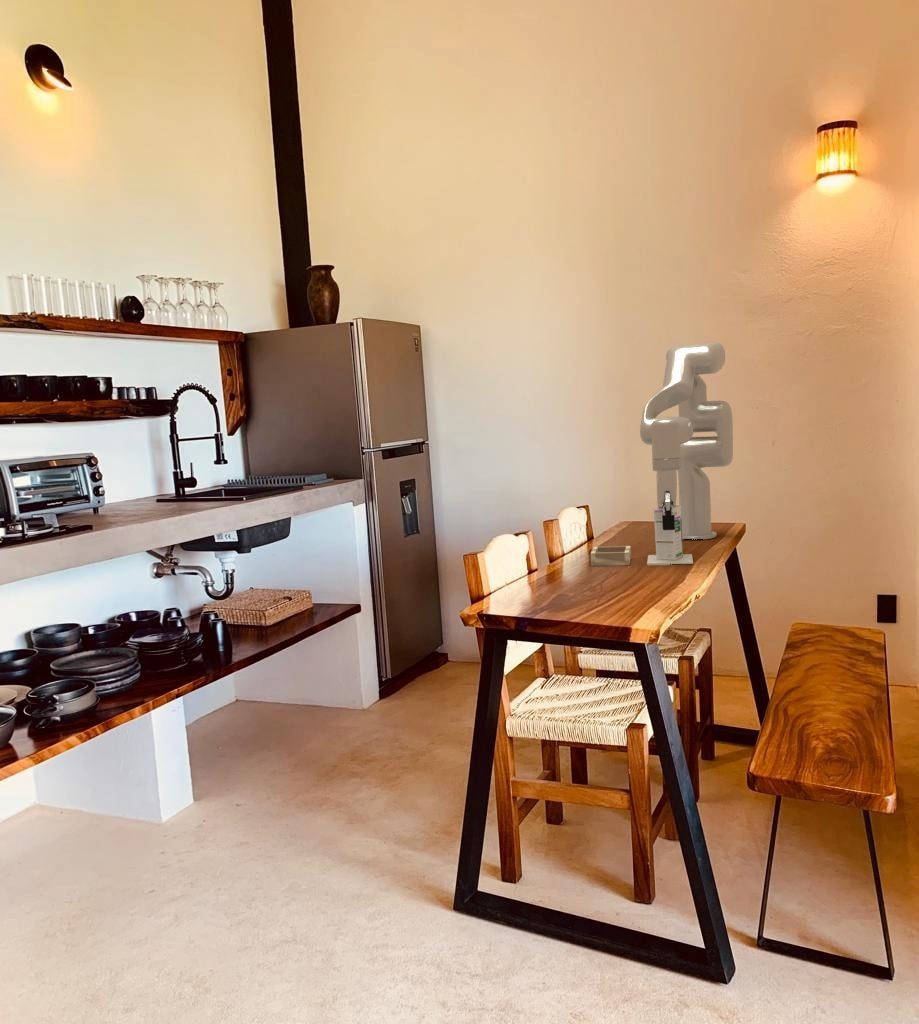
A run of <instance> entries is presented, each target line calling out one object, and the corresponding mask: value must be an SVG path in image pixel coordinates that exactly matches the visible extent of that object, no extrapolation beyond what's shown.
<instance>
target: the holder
mask: <svg viewBox="0 0 919 1024" xmlns="http://www.w3.org/2000/svg"><path fill="white" fill-rule="evenodd" d="M631 559H632V547H631V545H620V546H619V545H618V546H617V545H615V546H614V545H612V546H593V548H592V549H591V552H590V566H591V567H597V566H598V567H602V566H603V567H605V566H606V567H607V566H630V564H631Z"/></svg>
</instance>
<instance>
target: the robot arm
mask: <svg viewBox="0 0 919 1024" xmlns="http://www.w3.org/2000/svg"><path fill="white" fill-rule="evenodd" d="M665 355H666V356H665V358H666V359H665V360H666V364H665V370H664V375H663V376H664V377H663V381H662V383H663V384H662V388H661V389H659V390H658V391H657V392H655V393H654V394H653V395H652V397H651V398H650V399H649V400H648V401H647V402H646V404H645V406H644V408H643V410H642V415H641V420H640V421H641V422H640V427H639V428H640V430H639V436H640V438H641V441H642V443H644V444H646V445H650V446H651V454H652V455H651V456H652V457H651V458H652V459H651V461H652V471H653V472H656V500H657V501H656V502H657V505H656V506H657V508H658V507H661V506H663V515H662V524H663V530H674V529H675V516H674V515H673V505H674V506H676V505H677V496H678V502H679V503H678V504H679V505H678V506H681V520H682V540H684V539H692V540H691V541H698V540H697V539H703V540H709V539H714V538H716V537H717V532H716V531H712V509H711V483H710V482H711V481H710V479H709V477H708V475H707V474H706V473H705V472H704V471H703V470H702V468H719V467H721V468H723V467H727V466H730V465H731V463H732V462H733V459H734V437H733V436H734V431H733V429H734V428H733V427H734V426H733V412H732V407H731V405H730V404H729V403H728V402H727V401H725V400H708V399H707V398H708V397H707V396H708V395H707V393H708V392H707V384H706V383H705V381H704V379H703V378H702V377H701V376H700V375H712V374H716V373H717V372H719V371H721V370H722V368H723V367H724V365H725V363H726V362H725V361H726V351H725V347H724V346H723V344H722V343H720V342H716V341H715V342H706V343H705V342H703V343H690V344H681V345H676V346H672V347H670V348H669V349H668V350H667V352H666V354H665ZM676 406H678V416H672V417H671V416H670V417H669V416H667V417H658V416H659V415H660V414H661V413H663V412H665V411H667V410H669V409H671V408H673V407H676ZM694 433H716V435H714V436H693V435H694ZM677 480H678V482H677ZM677 486H678V487H677ZM677 492H678V495H677ZM671 514H672V515H671ZM693 539H694V540H693ZM695 539H696V540H695Z"/></svg>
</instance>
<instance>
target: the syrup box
mask: <svg viewBox="0 0 919 1024" xmlns="http://www.w3.org/2000/svg"><path fill="white" fill-rule="evenodd" d="M662 515H663V505H662V506H660V507H658V506H657V507H656V508H653V518H654V522H653V523H654V538H655V539H654V542H655V555H656V559H658V560H674V561H675V560H677V559H679V558H681V557H683V554H684V546H683V545H684V544H683V543H684V542H683V541H684V540H683V539H682V520H681V506H679V505H677V504H676V506H674V505H673V515H674V516H675V529H674V530H663V524H662ZM671 515H672V514H671Z"/></svg>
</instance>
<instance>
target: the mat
mask: <svg viewBox="0 0 919 1024" xmlns="http://www.w3.org/2000/svg"><path fill="white" fill-rule="evenodd" d="M646 564H647V566H673V565H672V564H693V565H694V560H693V554H692V553H686V554H685V553H683V557H681V558H679V559H677V560H675V561H674V560H658V559H656V554H648V556H647V562H646ZM670 564H671V565H670Z"/></svg>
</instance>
